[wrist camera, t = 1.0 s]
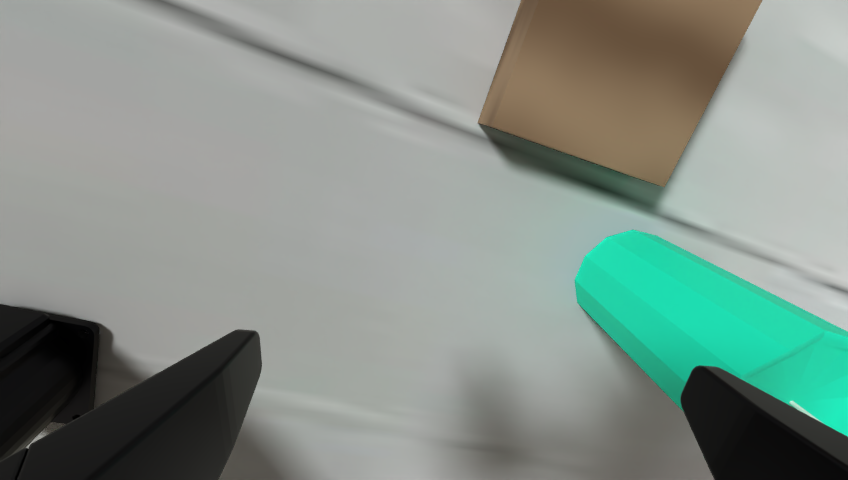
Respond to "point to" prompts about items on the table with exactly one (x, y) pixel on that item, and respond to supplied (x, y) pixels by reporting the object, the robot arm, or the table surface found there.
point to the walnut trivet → (614, 77)
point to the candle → (712, 325)
